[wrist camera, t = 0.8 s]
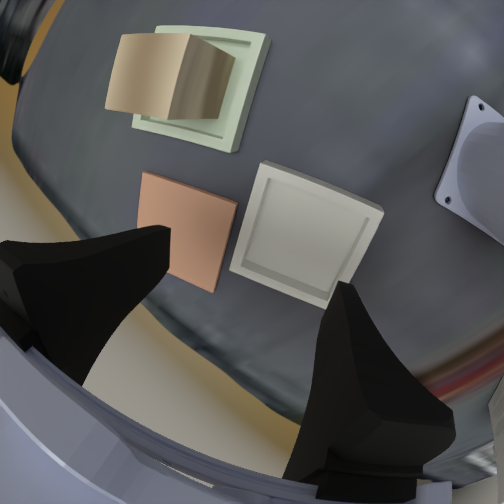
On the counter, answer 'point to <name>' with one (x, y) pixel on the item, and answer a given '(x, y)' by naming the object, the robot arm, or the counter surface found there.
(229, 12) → the counter surface
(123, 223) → the counter surface
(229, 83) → the sage green tray
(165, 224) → the terracotta pad
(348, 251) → the light grey tray
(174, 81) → the brown block
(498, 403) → the skincare box
